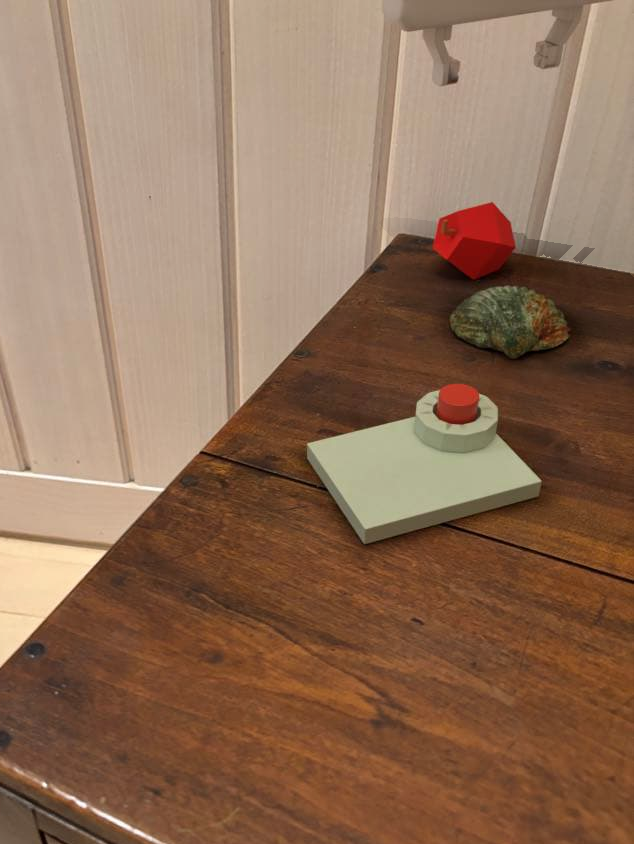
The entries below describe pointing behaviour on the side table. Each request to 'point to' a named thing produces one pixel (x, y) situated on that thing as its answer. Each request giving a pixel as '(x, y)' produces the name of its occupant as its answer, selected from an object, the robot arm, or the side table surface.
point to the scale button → (457, 404)
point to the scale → (421, 471)
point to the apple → (475, 239)
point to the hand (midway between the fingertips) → (495, 75)
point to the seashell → (510, 321)
